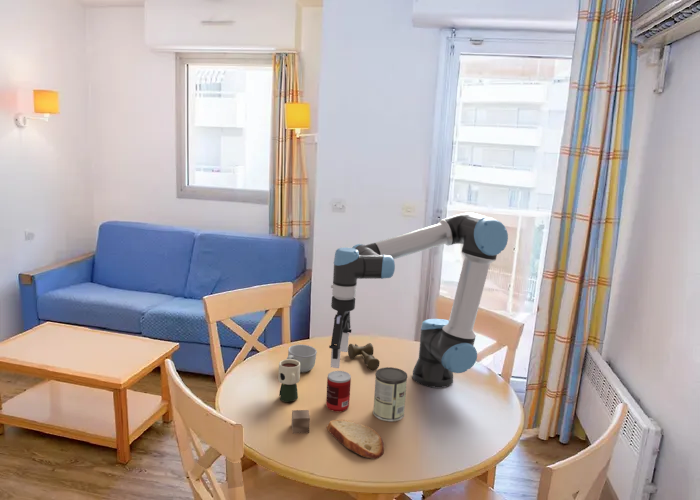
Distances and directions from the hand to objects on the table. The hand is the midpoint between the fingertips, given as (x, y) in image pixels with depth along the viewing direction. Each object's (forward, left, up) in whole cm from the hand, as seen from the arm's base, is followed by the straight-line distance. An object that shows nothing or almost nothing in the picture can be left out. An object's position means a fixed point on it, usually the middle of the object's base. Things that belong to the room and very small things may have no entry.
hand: (339, 359), depth 181 cm
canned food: (0, 0, -17) cm, 17 cm away
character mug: (+17, 0, -17) cm, 24 cm away
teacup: (+20, -23, -17) cm, 35 cm away
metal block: (+8, +17, -17) cm, 25 cm away
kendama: (-3, -40, -17) cm, 44 cm away
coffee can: (-17, 0, -17) cm, 24 cm away
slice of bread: (-9, +19, -17) cm, 27 cm away
